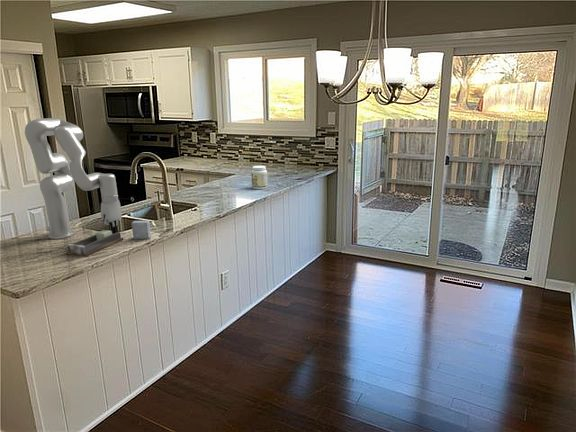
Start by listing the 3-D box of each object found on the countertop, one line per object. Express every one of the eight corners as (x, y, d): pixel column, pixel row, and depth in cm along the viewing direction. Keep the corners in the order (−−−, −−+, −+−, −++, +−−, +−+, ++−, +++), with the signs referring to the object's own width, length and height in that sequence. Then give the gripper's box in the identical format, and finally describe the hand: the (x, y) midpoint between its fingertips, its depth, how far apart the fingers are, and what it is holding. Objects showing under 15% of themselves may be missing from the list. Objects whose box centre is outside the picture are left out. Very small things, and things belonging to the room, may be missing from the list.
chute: (66, 253, 194) (64, 244, 193) (104, 237, 216) (103, 229, 214) (86, 256, 190) (84, 247, 189) (123, 240, 212) (122, 231, 210)
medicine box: (151, 236, 217) (149, 220, 214) (148, 239, 213) (147, 222, 210) (136, 236, 217) (134, 220, 214) (133, 239, 212) (131, 223, 210)
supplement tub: (248, 188, 328) (247, 166, 324) (260, 185, 336) (260, 164, 332) (258, 190, 320) (257, 168, 315) (270, 188, 328) (270, 166, 323)
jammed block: (96, 241, 206) (95, 232, 205) (104, 238, 211) (103, 229, 210) (105, 242, 205) (104, 233, 203) (112, 239, 209) (111, 230, 208)
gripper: (114, 194, 217) (119, 228, 222) (92, 201, 203) (97, 237, 208) (126, 195, 214) (130, 229, 219) (105, 202, 201) (110, 238, 206)
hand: (114, 233), depth 214 cm, fingers closed
